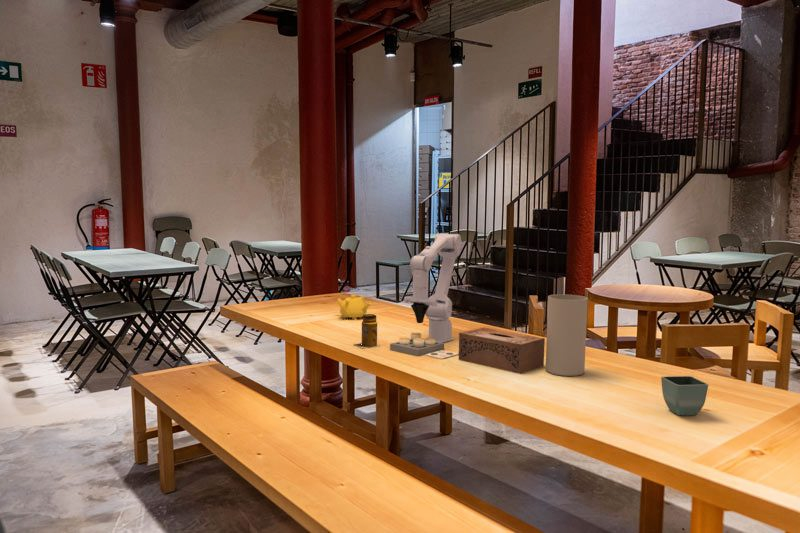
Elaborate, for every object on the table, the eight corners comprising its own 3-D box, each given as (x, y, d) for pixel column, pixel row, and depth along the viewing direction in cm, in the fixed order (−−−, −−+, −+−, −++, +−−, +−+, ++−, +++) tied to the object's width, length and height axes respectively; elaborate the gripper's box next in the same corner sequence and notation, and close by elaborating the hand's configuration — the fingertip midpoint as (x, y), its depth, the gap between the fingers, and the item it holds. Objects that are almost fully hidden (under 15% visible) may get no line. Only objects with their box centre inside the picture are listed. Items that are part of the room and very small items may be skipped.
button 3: (418, 345, 238) (418, 337, 237) (426, 346, 235) (426, 338, 235) (411, 346, 235) (411, 338, 234) (419, 348, 232) (419, 340, 232)
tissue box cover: (458, 360, 225) (459, 332, 224) (483, 353, 236) (483, 327, 235) (520, 374, 207) (521, 344, 206) (543, 366, 218) (544, 338, 217)
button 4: (429, 345, 242) (429, 337, 242) (437, 346, 240) (437, 338, 239) (422, 346, 240) (422, 338, 239) (430, 348, 237) (430, 340, 237)
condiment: (381, 346, 245) (381, 315, 244) (362, 348, 241) (362, 317, 240) (371, 342, 251) (371, 312, 250) (353, 345, 247) (353, 314, 246)
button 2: (415, 339, 247) (415, 332, 247) (423, 341, 244) (423, 333, 244) (408, 341, 244) (408, 333, 244) (416, 342, 241) (416, 335, 241)
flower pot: (658, 408, 174) (660, 375, 173) (689, 407, 175) (691, 375, 174) (675, 418, 165) (676, 385, 164) (707, 418, 166) (709, 384, 165)
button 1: (404, 344, 242) (404, 337, 242) (412, 346, 240) (412, 338, 239) (397, 346, 239) (397, 338, 239) (404, 348, 237) (405, 340, 236)
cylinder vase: (537, 369, 214) (540, 295, 211) (568, 365, 219) (570, 293, 216) (561, 378, 202) (564, 300, 200) (592, 374, 207) (595, 299, 205)
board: (416, 343, 250) (416, 337, 250) (444, 349, 241) (444, 343, 240) (390, 349, 239) (390, 343, 239) (418, 356, 230) (418, 349, 229)
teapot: (381, 317, 307) (381, 294, 306) (359, 323, 292) (359, 299, 291) (347, 313, 318) (348, 291, 317) (325, 318, 303) (325, 295, 302)
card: (442, 351, 238) (442, 349, 238) (459, 354, 233) (459, 353, 233) (424, 355, 231) (424, 354, 231) (442, 359, 225) (442, 357, 225)
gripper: (398, 286, 241) (398, 321, 243) (428, 290, 232) (428, 326, 233) (410, 284, 247) (410, 319, 248) (440, 288, 237) (440, 324, 239)
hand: (419, 322), depth 241 cm, fingers closed
